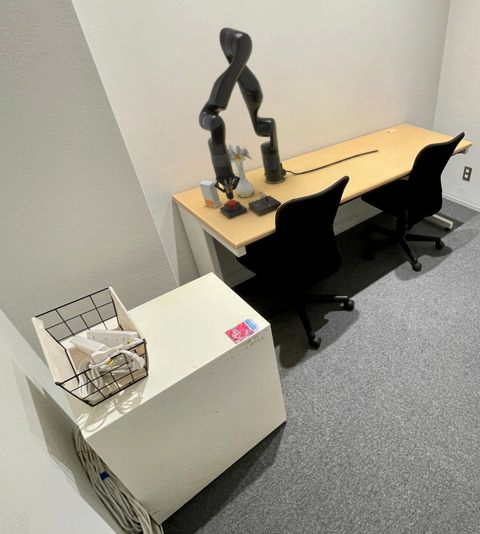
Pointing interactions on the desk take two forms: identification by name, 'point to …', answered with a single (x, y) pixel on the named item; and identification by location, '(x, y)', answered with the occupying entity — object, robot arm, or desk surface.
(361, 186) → the desk surface
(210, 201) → the cosmetic box
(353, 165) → the desk surface
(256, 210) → the rotary lever switch
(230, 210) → the button box
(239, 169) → the flower vase
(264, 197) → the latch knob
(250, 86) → the robot arm
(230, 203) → the button
